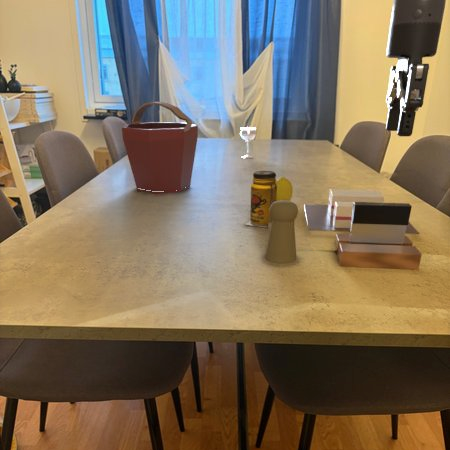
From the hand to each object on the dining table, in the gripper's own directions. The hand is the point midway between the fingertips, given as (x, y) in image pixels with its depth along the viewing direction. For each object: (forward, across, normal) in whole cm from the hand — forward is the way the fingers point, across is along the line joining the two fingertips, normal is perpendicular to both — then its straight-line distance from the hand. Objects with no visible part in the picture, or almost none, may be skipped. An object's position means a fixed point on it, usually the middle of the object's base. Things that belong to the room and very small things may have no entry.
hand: (397, 133), depth 75 cm
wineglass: (+23, +116, +34) cm, 123 cm away
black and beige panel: (+23, -1, +1) cm, 23 cm away
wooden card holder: (+23, -1, +1) cm, 23 cm away
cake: (+22, +27, +1) cm, 35 cm away
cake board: (+23, +23, +1) cm, 32 cm away
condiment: (+23, +20, +23) cm, 38 cm away
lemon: (+23, +35, +19) cm, 46 cm away
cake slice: (+22, +16, +1) cm, 27 cm away
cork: (+23, -3, +19) cm, 30 cm away
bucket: (+22, +53, +57) cm, 81 cm away
